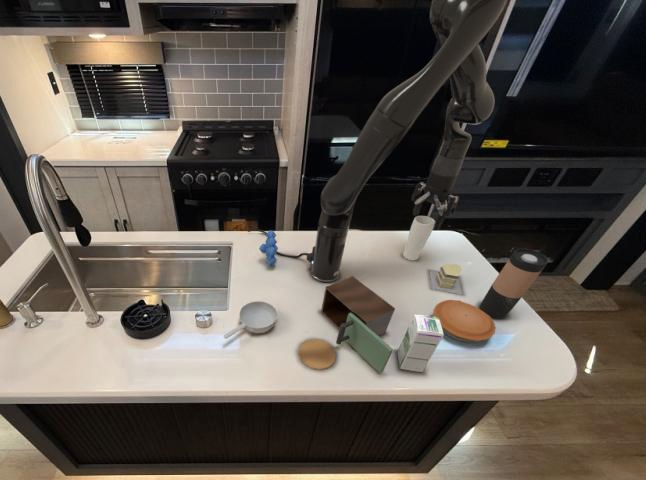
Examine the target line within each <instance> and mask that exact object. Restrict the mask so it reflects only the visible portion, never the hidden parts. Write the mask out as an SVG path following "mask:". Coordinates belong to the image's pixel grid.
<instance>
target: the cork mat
mask: <svg viewBox="0 0 646 480" xmlns="http://www.w3.org/2000/svg"><path fill="white" fill-rule="evenodd" d="M298 357H299V359H300V361H301V362H302V364H304V365H305V366H306V367H308V368H310V369H313V370H326V369H329V368H330V367H332V366H333V365H334V363H335V361H336V358H337V355H336V351H335V349H334V348H333V346H332V345H331V344H329V343H328V342H326V341H325V340H322V339H309V340H308V339H307V340H306V341H304V342H303V343H302V344H301V345H300V346H299V349H298Z"/></svg>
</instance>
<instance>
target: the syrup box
mask: <svg viewBox="0 0 646 480" xmlns="http://www.w3.org/2000/svg"><path fill="white" fill-rule="evenodd" d="M444 335H445V334H444V333H443V330H442V327H441V323H440V320H439V317H434V315H427V314H415V313H414V314H413V316H412V318H411V321H410V322H409V325H408V327H407V330H406V331H405V334H404V336H403V338H402V340H401V342H400V345H399V347H398V349H397V351H396V354H397V359H398V367H399V369H400V370H404V371H405V370H406V371H411V372H418V373H423V372H424V370H425V368H426V367H427V365H428V364H429V361H430V360H431V358H432V357H433V355H434V353H435V351H436V349H437V348H438V346H439V344H440V343H441V341H442V340H443V337H444Z"/></svg>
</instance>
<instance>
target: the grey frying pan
mask: <svg viewBox="0 0 646 480" xmlns="http://www.w3.org/2000/svg"><path fill="white" fill-rule="evenodd" d="M277 319H278V312H277V310H276V307H274V306H273V305H272V304H271V303H268V302H266V301H261V300H260V301H251V302H248V303H246V304H244V305H243V306H242V307H241V308H240V310H239V320H240V323H241V324H239V325H238V326H236V327H234V328H233V329H231V330H230V331H228V332H227V333H225V334H224V335H223V338H224V339H229V338H230V337H232V336H233V335H235V334H236V333H238V332H240V331H241V330H242V329H244V328H245V330H247V331H248V332H250V333H252V334H264V333H265V334H266V332H269V331H270V330H271V329H272V328H273V327H274V326H275V325H276V323H277Z"/></svg>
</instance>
